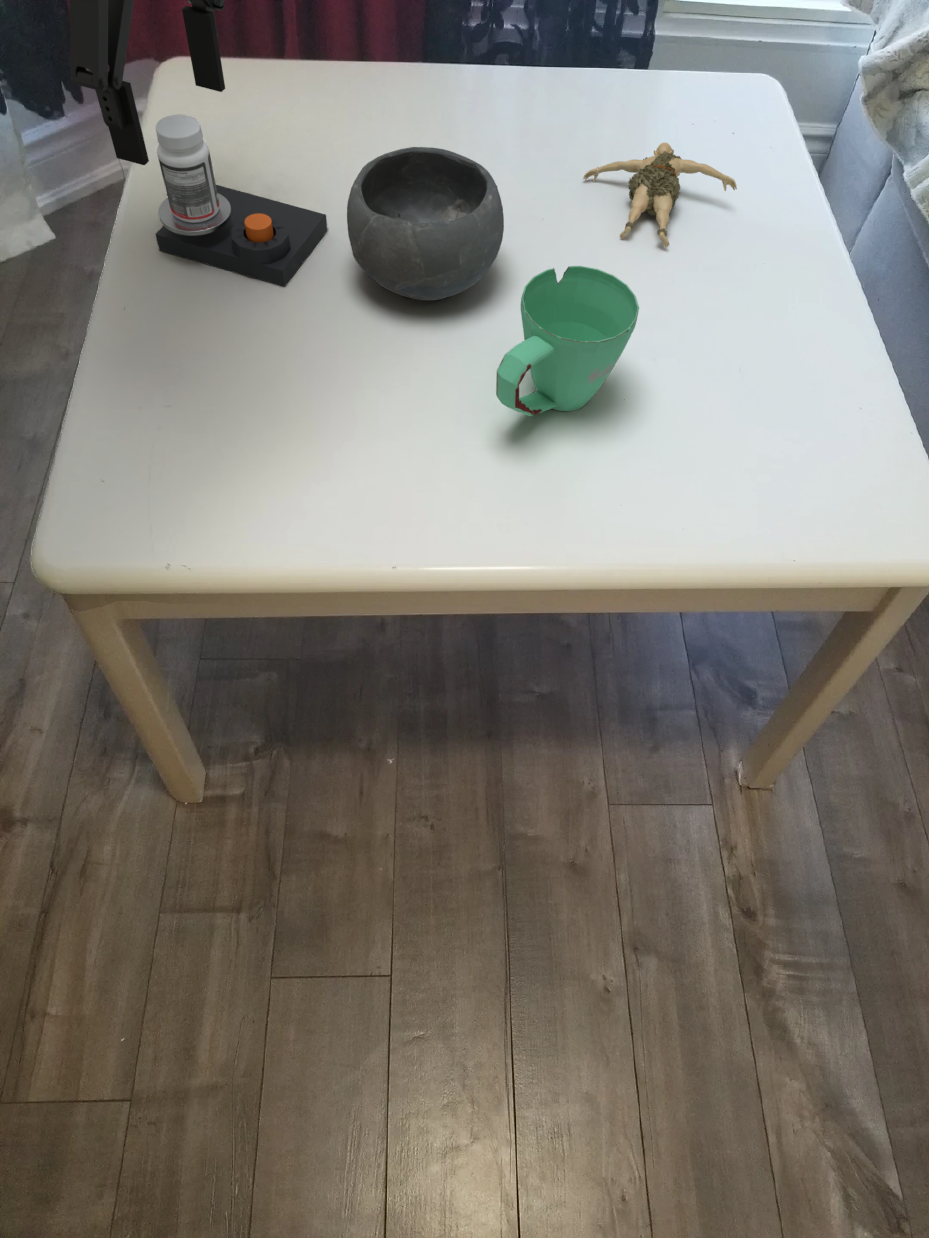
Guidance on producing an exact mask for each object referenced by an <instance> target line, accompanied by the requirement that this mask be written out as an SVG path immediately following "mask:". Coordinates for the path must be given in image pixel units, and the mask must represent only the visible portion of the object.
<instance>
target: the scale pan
mask: <svg viewBox="0 0 929 1238" xmlns="http://www.w3.org/2000/svg"><path fill="white" fill-rule="evenodd" d="M217 194H218V199H219V211H218V212H217V214H216V215H215V216H214V217H212V218H211V219H209V220H206V221H203V222H198V223H190V222H185V221H182V220H180V219H178V218H176V217H175V216H174V215H173V214H172V212H171V209H170V205H169V201H168V197H166V198H165V199H164V200H163V201H162V202H161V204H159V207H158V209H157V211H158V212H157V215H158V218H159V221H160V224H161V225H162V226H164V227H165V228H167V229H168V230H170V231H172V232H174V233H177V234H181V235H188V236H197V235H205V234H209V233H212V232H215V231H217V230H219V229H221V228H222V227H224V226H225V225H226V224H227V223H228V221H229V220H230V218H231V214H232V211H231V206H230V203H229V201H228V200H227V199H226V198H225V197H224V196H222V195H221V194H219V193H217Z"/></svg>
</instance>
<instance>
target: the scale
mask: <svg viewBox="0 0 929 1238" xmlns="http://www.w3.org/2000/svg"><path fill="white" fill-rule="evenodd" d="M216 189H217V193H219V194H221V195H222V196H224V197H225V198H226V199H227V200H228V201H229V203H230V206H231V211H232V214H231V218H230V220H229V221H228V223H227V224H226V225H225V226H224V227H222V228H221V229H219V230H217V231H215V232H212V233H209V234H205V235H197V236H188V235H181V234H177V233H174V232H172V231H170V230H168V229H167V228H165V227H164V226H163V225H162V226H161V227H160V228H159V229H158V230H157V231H156V233H155V235H154V236H155V239H156V243H157V246H158V250H159V251H160V252H162V253H166V254H170V255H173V256H176V257H180V258H184V259H187V260H191V261H194V262H198V263H201V264H205V265H208V266H212V267H216V268H218V269H221V270H225V271H229V272H232V273H236V274H240V275H241V276H242V275H243V276H246V277H249V278H253V279H256V280H260V281H264V282H267V283H270V284H274V285H278V286H280V287H286V286H287V285H288V283H289V282H290V281H291V279H292V278H293V277H294V275H295V274H296V273H297V272H298V270H299V269H300V268H301V267H302V265H303V264H304V262H305V261H306V260H307V258H308V257H309V256H310V254H311V253H312V252H313V250H314V249H315V248H316V247H317V245H318V244H319V243H320V241H321V240H322V239H323V237H324V236H325V235H326V233H327V232H328V221H327V214H325V213H322V212H319V211H316V210H315V211H314V210H312V209H307V208H304V207H300V206H296V205H293V204H289V203H285V202H281V201H278V200H274V199H270V198H267V197H263V196H260V195H255V194H252V193H249V192H244V191H241V190H237V189H234V188H230V187H226V186H223V185H218V184H216ZM252 214H265V215H267V216H269V217H270V218H271V220H272V227H273V234H274V235H273V238H272V239H271V240H269V241H266V242H252V241H249V240H248V238H247V235H246V229H245V223H244V221H245V219H246V218H247V217H248V216H250V215H252Z"/></svg>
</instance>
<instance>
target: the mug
mask: <svg viewBox="0 0 929 1238" xmlns="http://www.w3.org/2000/svg"><path fill="white" fill-rule="evenodd" d="M520 297H521V298H520V315H521V322H522V332H523V338H524V340H523V341H521V342H520V343H518V344H516V345H514V346H513V348H511V349H510V350H509V351H507V352H506V353H505V354H504V355H503V357H502V359H501V361H500V363H499V365H498V367H497V368H496V369H497V370H496V387H495V395H496V398H497V399H498V400H499V402H500V403H501V404H502V405H503V406H504V407H507V408H508V409H511V410H513V411H515V412H518V413H520V414H523V415H526V416H528V417H533V416H536V415H538V414H540V413H544V412H547V411H549V410H551V409H553V410H555V411H560V412H574V411H577V410H580V409H581V408H583V407H584V406H586V404H588V403H589V401H590V400H591V399H592V398H593V396H594V395H595V394H596V393H597V392H598V390H599V389H600V388H601V386H602V385H603V384H604V382H605V381H606V379H608V378H607V377H608V376H609V375H610V374H611V372H612V370H613V369H614V368H615V366H616V364H617V362H618V361H619V359H620V358H621V356H622V354H623V353H624V350H625V349H626V347H627V344H628V343H629V340H630V338H631V337H632V334H633V332H634V331H635V328H636V325H637V321H638V316H639V311H640V306H639V303H638V299H637V296H636V294H635V293H634V292H633V291H632V289H631V288H630V287H629V286H628V284H627V283H625V282H624V281H622V280H621V279H620V278H618V277H616V275H614V274H611V273H609V272H606V271H605V270H602V269H600V268H594V267H590V266H589V267H588V266H584V265H570V266H568V267H567V268H566V269H565V270H564V272H563V275H562V277H561V279H560V280H558V279H557V273H556V270H555V267H553V268H548V269H546V270H543V271H541V272H540V273H538V274H536V275H534V276H533V277H532V278H531V279H530V280H529V281H528V282H527V283H526V285H524V288H523V291H522V294H521V296H520ZM529 371H530V375H531V379H532V382H533V384H534V388H535V390H536V391H534V392H532V393H529V394H526V395H524V396H521V397H520V385H521V383H522V381H523V379H524V377H525V376H526V374H527V373H528V372H529Z"/></svg>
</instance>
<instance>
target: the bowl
mask: <svg viewBox="0 0 929 1238" xmlns="http://www.w3.org/2000/svg"><path fill="white" fill-rule="evenodd" d="M346 222H347V223H346V224H347V235H348V239H349V244H350V249H351V251H352V252H351V253H352V255H353V258H354V260H355V261H356V263H357V264H358V265H359V267H360V268H361V269H362V271H364V273H365V274H366V275H367V276H369V277H370V278H371V279H372V280H373V281H374V282H376V283H377V284H379V285H380V286H381V287H383V288H385V289H386V290H388V291H391V292H392V293H395V294H397V295H399V296H402V297H405V298H410V299H413V300H417V301H418V300H419V301H438V300H443V299H445V298H449V297H453V296H455V295H458V294H460V293H462V292H464V291H466V290H468V289H469V288H471V287H472V286H474V285H475V284H476V283H477V282H479V281H480V280H481V278H483V276H485V274H487V272H488V271H489V269H491V267H492V265H493V263H494V262H495V260H496V258H497V257H498V254H499V251H500V250H501V246H502V242H503V238H504V230H505V219H504V207H503V203H502V198H501V195H500V192H499V188H498V186H497V183H496V181H495V180H494V178H493V175H492V174H491V173H490V172H489V171H488V169H486V168H485V167H484V166H483V165H482V164H480V163H478V162H476V161H475V160H473V159H470V158H469V157H467V156H464V155H461V154H459V153H456V152H454V151H451V150H448V149H444V148H438V147H428V146H410V147H404V148H400V149H396V150H393V151H389V152H386V153H383V154H381V155H379V156H377V157H375V158H373V159H372V160H370V161H368V162H367V163H366V164H365V165H364V166H363V167H362V168H361V170H360V171H359V172H358V174H357V175H356V178H355V179H354V181H353V184H352V186H351V187H350V191H349V195H348V199H347V205H346Z"/></svg>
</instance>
